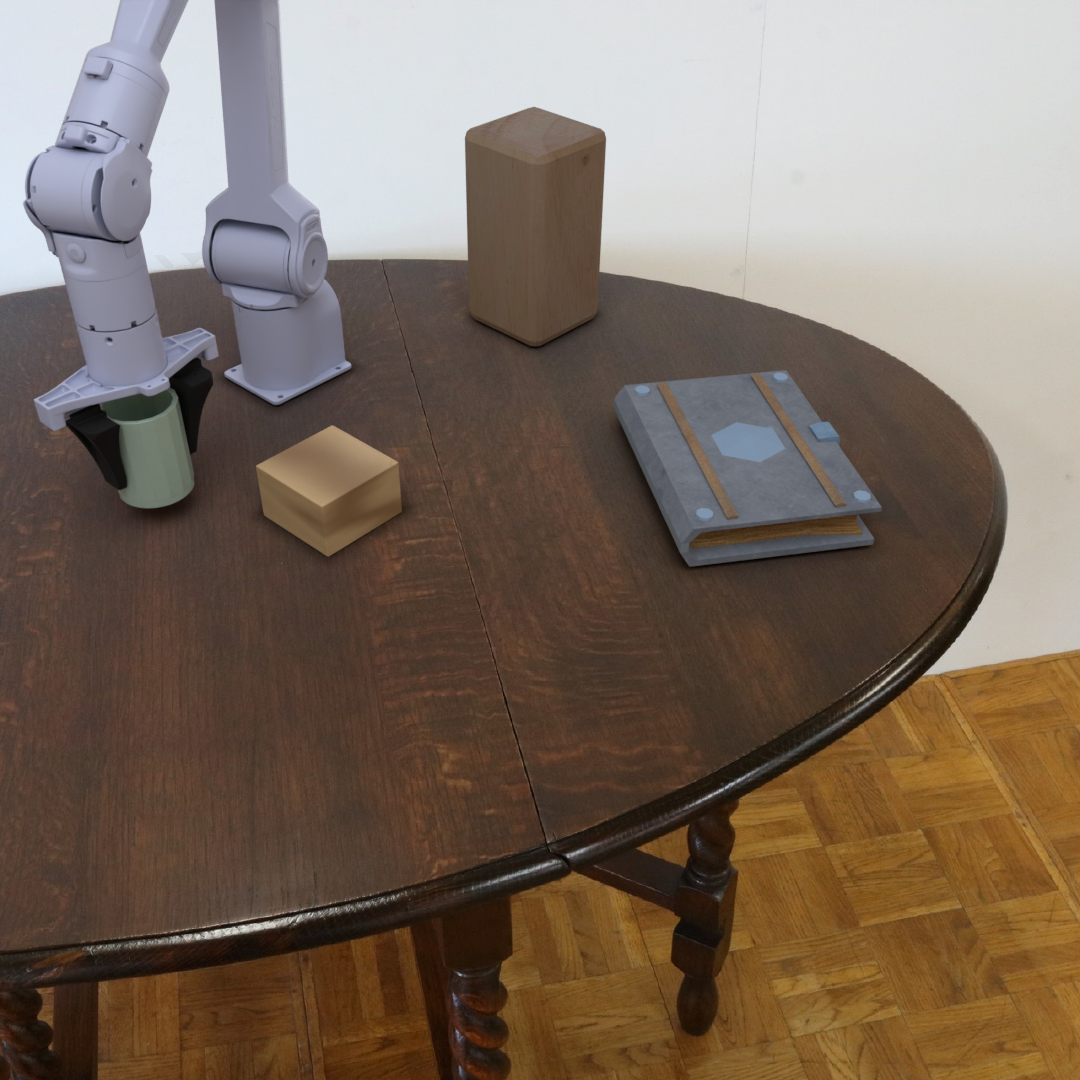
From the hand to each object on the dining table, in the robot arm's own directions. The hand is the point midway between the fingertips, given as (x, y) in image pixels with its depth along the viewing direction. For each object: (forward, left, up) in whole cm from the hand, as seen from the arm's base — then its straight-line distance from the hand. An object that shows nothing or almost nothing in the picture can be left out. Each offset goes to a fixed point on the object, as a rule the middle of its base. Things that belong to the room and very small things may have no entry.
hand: (151, 466), depth 95 cm
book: (-35, +33, -4) cm, 48 cm away
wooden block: (-45, +1, -4) cm, 45 cm away
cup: (0, 0, -2) cm, 2 cm away
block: (-9, +11, -4) cm, 15 cm away
